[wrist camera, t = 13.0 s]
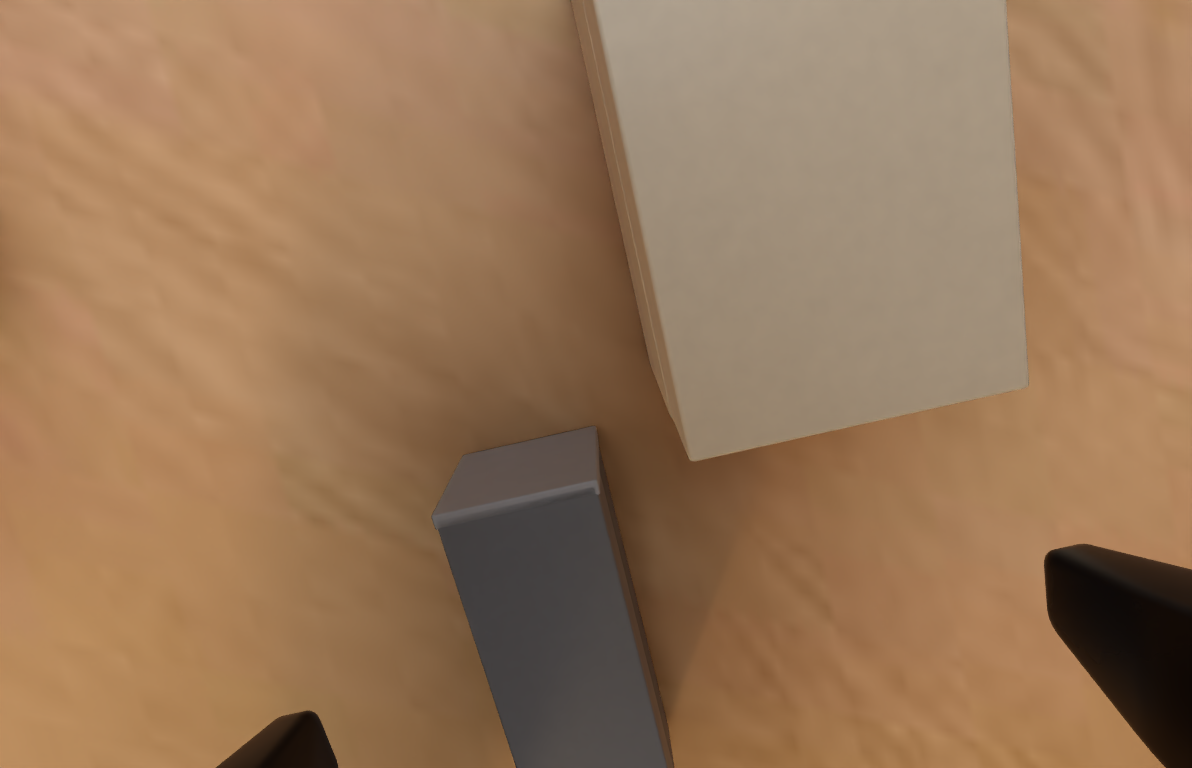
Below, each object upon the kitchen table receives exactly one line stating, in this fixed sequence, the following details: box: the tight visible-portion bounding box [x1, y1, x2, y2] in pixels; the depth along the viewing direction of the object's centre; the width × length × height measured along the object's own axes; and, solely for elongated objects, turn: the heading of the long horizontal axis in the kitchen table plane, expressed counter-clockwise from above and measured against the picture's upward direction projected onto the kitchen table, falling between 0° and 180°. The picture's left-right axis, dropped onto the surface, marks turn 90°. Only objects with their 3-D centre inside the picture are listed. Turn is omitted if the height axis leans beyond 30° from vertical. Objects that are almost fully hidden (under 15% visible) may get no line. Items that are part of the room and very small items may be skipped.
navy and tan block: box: [571, 0, 672, 418], centre depth 15 cm, size 6×10×5 cm, turn 13°
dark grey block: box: [432, 426, 674, 768], centre depth 19 cm, size 4×11×4 cm, turn 13°
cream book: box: [583, 0, 1029, 461], centre depth 11 cm, size 6×10×2 cm, turn 13°
